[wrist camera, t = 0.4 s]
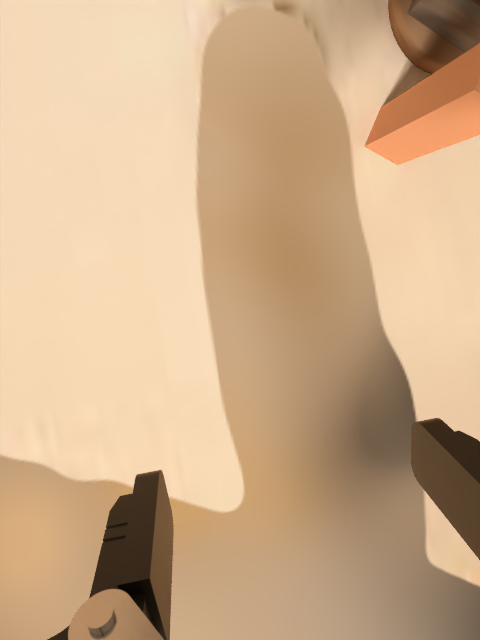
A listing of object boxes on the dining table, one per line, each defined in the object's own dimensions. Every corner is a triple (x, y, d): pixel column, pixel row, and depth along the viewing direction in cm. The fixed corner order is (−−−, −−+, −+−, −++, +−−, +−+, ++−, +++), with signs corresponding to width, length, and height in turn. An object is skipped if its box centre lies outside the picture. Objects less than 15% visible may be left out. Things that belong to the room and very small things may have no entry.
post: (364, 146, 39) (474, 90, 25) (381, 107, 39) (501, 29, 25) (397, 164, 40) (519, 119, 26) (413, 126, 40) (546, 61, 26)
